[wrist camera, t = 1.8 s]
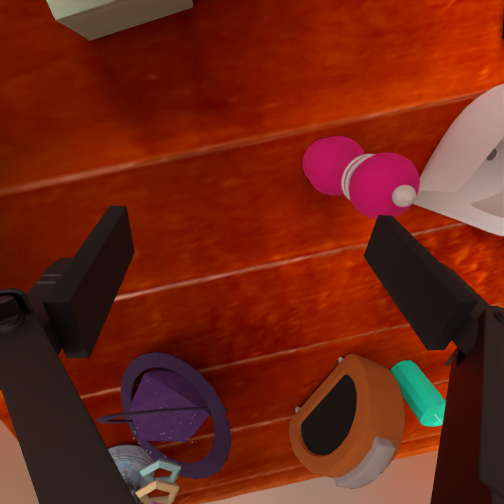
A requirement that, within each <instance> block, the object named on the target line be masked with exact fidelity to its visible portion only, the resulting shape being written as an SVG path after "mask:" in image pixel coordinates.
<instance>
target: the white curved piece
mask: <svg viewBox="0 0 504 504" xmlns="http://www.w3.org/2000/svg"><path fill="white" fill-rule="evenodd" d="M412 204H415V205H417V206H420V207H423V208H426V209H429V210H431V211H434V212H437V213H440V214H442V215H445V216H448V217H450V218H453V219H456V220H458V221H461V222H464V223H466V224H469V225H472V226H474V227H477V228H479V229H482V230H485V231H487V232H490V233H493V234H496V235H500V236H504V84H501V85H498V86H496V87H493V88H492V89H490V90H488V91H487V92H485V93H484V94H482V95H480V96H479V97H477V98H476V99H475V100H474V101H473V102H472V103H471V104H469V105H468V106H467V107H466V108H465V109H464V110H463V111H462V112H461V114H460V115H459V116H458V117H457V118H456V119H455V121H454V122H453V123H452V124H451V126H450V127H449V129H448V130H447V132H446V133H445V134H444V136H443V137H442V139H441V141H440V142H439V144H438V146H437V147H436V149H435V151H434V152H433V154H432V156H431V158H430V159H429V161H428V163H427V165H426V167H425V169H424V170H423V172H422V174H421V176H420V186H419V191H418V194H417V197H416V199H415V201H414V202H413V203H412Z"/></svg>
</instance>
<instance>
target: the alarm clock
mask: <svg viewBox="0 0 504 504" xmlns="http://www.w3.org/2000/svg"><path fill="white" fill-rule="evenodd" d="M338 361H339V365H338V366H337V367H336V368H335V369H334V370H333V371H332V373H331V374H330V375H329V376H328V377H327V378H326V379H325V381H324V382H323V383H322V384H321V385H320V386H319V387H318V389H317V390H316V391H315V392H314V393H313V394H312V395H311V397H310V398H309V399H308V400H307V401H306V402H305V403H304V405H303V406H302V407H298V406H297V408H296V409H295V411H296V414H295V415H294V416H293V417H292V418H291V420H290V423H289V427H288V428H289V437H290V441H291V445H292V449H293V451H294V453H295V455H296V456H297V458H298V459H299V461H300V462H301V463H302V464H303V465H304V466H305V467H306V468H307V469H308V470H309V471H310V472H312V473H315V474H318V475H322V476H326V477H331V478H334V480H335V483H336V485H337V486H339V487H344V488H349V489H356V488H360V487H363V486H365V485H368V484H369V483H371V482H372V481H374V480H375V479H376V478H377V477H378V476H379V475H380V474H381V473H382V472H383V471H384V470H385V469H386V468H387V466H388V465H389V464H390V463H391V461H392V460H393V459H394V458H395V456H396V455H397V452H398V449H399V446H400V444H401V441H402V437H403V432H404V426H405V411H404V402H403V398H402V394H401V389H400V385H399V384H398V382H397V381H396V379H395V378H394V376H393V374H392V373H391V372H390V371H389V370H388V369H387V368H386V367H385V366H383V365H381V364H379V363H376V362H374V361H371V360H369V359H367V358H364V357H362V356H359V355H357V354H348V355H346V356H345V358H343V357H340V358H339V359H338Z"/></svg>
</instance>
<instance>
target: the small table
mask: <svg viewBox="0 0 504 504" xmlns="http://www.w3.org/2000/svg"><path fill="white" fill-rule="evenodd" d="M46 1H47V3H48V5H49V7H50V9H51V11H52V13H53V15H54V18H55V20H56V21H58V22H60V23H61V24H63V25H65V26H66V27H68V28H70V29H71V30H73V31H75V32H76V33H78V34H80V35H82V36H83V37H85V38H87V39H88V40H90V41H91V40H94V39H97V38H100V37H103V36H106V35H109V34H112V33H115V32H119V31H122V30H125V29H128V28H131V27H134V26H137V25H140V24H143V23H146V22H149V21H152V20H155V19H159V18H162V17H165V16H168V15H171V14H174V13H177V12H180V11H183V10H186V9H189V8H192V7H193V2H192V0H46Z"/></svg>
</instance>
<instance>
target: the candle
mask: <svg viewBox="0 0 504 504" xmlns="http://www.w3.org/2000/svg"><path fill="white" fill-rule="evenodd" d="M390 372H391V373H392V374H393V376H394V378H395V379H396V381H397V382H398V384H399V385H400V389H401V394H402V396H403V398H404V399H405V401H406V402H407V404H408V405H409V407H410V408H411V410H412V411H413V412H414V414H415V415H416V417H417V418H418V420H419V421H420V423H421V424H422V425H425V426H439V425H442V424H443V418H444V411H445V404H446V401H445V399H444V398H443V397H442V396H441V395H440V393H439V392H438V391H437V390H436V388H435V387H434V386H433V385H432V384H431V382H430V381H429V380H428V379H427V377H426V376H425V375H424V374H423V372H422V371H421V370H420V369H419V368H418V366H417V365H416V364H415V363H414V362H412V361H410V360H408V361H401V362H399V363H397V364H395V365H394V366H393V367H392V368H391V370H390Z"/></svg>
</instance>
